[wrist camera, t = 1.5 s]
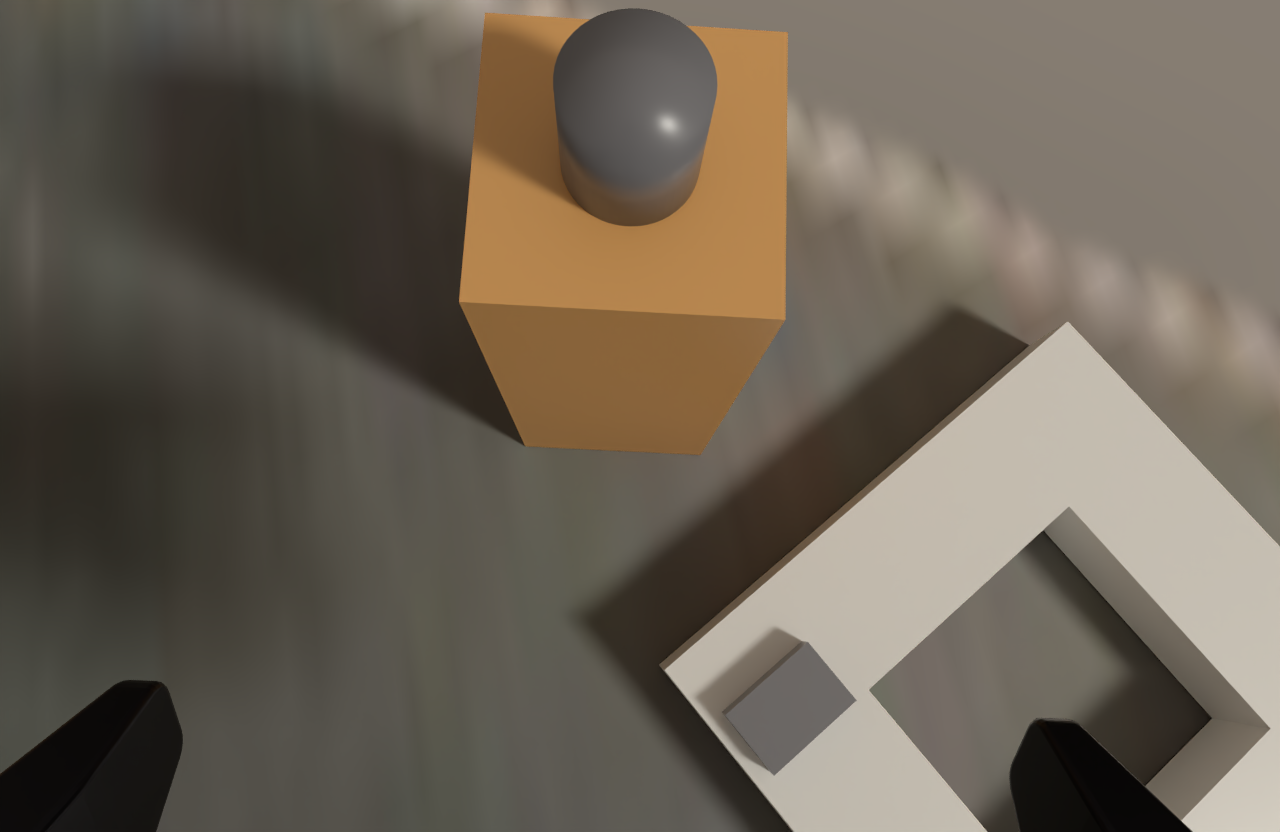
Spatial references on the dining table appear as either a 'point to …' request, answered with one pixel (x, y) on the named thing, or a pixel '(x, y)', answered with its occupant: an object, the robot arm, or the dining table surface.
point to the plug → (625, 224)
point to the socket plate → (964, 561)
